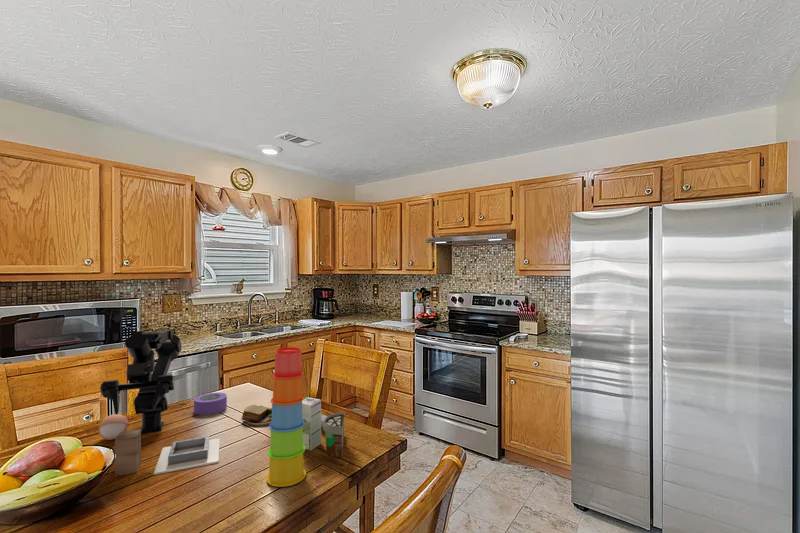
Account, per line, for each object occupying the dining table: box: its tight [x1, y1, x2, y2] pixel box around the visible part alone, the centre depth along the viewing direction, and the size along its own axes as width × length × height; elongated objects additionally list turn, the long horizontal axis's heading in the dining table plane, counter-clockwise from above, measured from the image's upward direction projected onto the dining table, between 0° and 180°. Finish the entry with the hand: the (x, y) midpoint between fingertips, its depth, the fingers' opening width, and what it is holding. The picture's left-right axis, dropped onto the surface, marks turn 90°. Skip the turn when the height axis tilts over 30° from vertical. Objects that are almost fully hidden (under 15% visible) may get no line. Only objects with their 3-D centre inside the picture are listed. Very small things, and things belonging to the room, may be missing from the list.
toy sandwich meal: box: [241, 404, 272, 427], centre depth 142 cm, size 12×14×5 cm
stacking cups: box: [266, 346, 307, 488], centre depth 103 cm, size 10×10×35 cm
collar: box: [168, 435, 210, 465], centre depth 115 cm, size 10×10×2 cm
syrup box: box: [302, 396, 322, 452], centre depth 121 cm, size 6×6×14 cm
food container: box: [322, 411, 345, 460], centre depth 117 cm, size 12×6×10 cm, turn 5°
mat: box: [153, 438, 221, 476], centre depth 115 cm, size 16×16×1 cm
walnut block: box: [114, 428, 142, 477], centre depth 107 cm, size 5×5×10 cm
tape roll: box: [193, 392, 228, 416], centre depth 152 cm, size 12×12×5 cm
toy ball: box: [98, 413, 130, 441], centre depth 126 cm, size 8×8×8 cm
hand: (134, 411), depth 114 cm, fingers open, 9 cm apart
